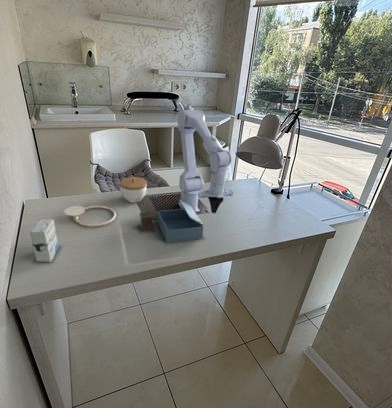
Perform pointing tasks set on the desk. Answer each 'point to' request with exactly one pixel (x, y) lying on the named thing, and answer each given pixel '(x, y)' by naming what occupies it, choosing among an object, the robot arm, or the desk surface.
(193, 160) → the robot arm
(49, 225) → the ink box
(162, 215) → the carton
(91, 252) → the desk surface
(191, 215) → the flap
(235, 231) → the desk surface
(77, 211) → the hand towel holder
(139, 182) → the lidded bowl
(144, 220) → the walnut block
